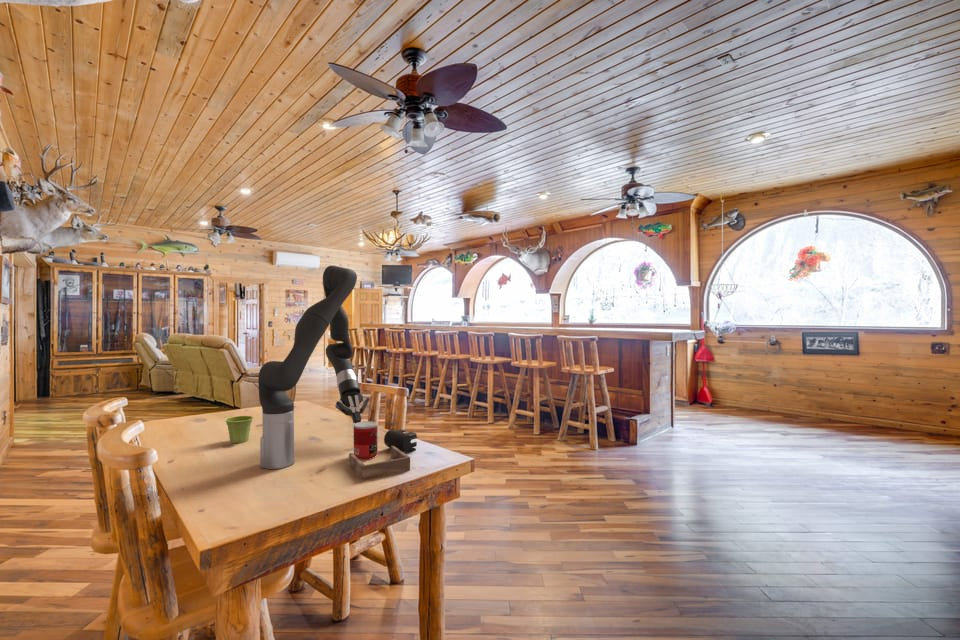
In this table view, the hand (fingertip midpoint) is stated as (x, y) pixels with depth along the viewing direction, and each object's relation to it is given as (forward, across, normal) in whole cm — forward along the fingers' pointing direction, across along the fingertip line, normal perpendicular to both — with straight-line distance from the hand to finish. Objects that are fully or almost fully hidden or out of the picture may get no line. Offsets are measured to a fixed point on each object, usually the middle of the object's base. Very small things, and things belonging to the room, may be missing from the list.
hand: (357, 422), depth 155 cm
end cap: (+14, +12, 0) cm, 18 cm away
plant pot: (-16, -36, +30) cm, 49 cm away
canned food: (+13, 0, 0) cm, 13 cm away
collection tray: (+22, 0, -10) cm, 24 cm away
